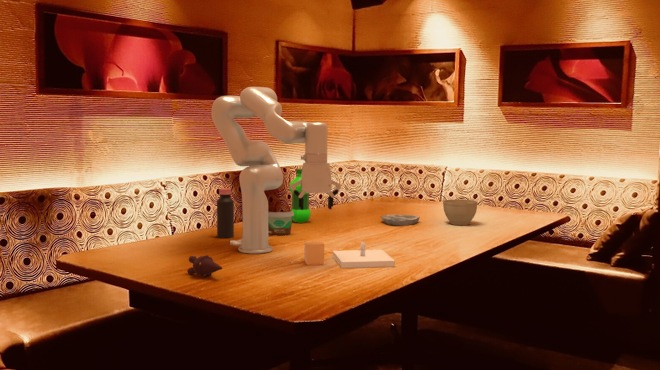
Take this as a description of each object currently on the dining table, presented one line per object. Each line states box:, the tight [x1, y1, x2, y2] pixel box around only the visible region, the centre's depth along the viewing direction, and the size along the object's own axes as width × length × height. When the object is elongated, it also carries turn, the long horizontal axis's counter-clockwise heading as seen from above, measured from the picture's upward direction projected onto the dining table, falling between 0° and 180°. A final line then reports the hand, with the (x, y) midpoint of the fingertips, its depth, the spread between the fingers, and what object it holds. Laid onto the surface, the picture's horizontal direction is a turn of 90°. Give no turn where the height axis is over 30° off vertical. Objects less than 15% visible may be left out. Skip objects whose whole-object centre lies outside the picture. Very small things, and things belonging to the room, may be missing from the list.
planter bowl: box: [442, 198, 479, 226], centre depth 301 cm, size 16×16×11 cm
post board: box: [332, 241, 396, 269], centre depth 222 cm, size 18×18×6 cm
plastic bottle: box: [289, 168, 312, 224], centre depth 301 cm, size 10×10×25 cm
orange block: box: [303, 240, 325, 266], centre depth 219 cm, size 6×6×7 cm
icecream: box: [186, 254, 223, 279], centre depth 198 cm, size 7×7×15 cm
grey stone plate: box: [380, 214, 421, 227], centre depth 303 cm, size 20×17×3 cm
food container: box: [268, 210, 294, 237], centre depth 269 cm, size 12×6×10 cm, turn 105°
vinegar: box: [216, 187, 235, 239], centre depth 262 cm, size 7×7×20 cm
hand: (315, 209), depth 218 cm, fingers open, 9 cm apart
